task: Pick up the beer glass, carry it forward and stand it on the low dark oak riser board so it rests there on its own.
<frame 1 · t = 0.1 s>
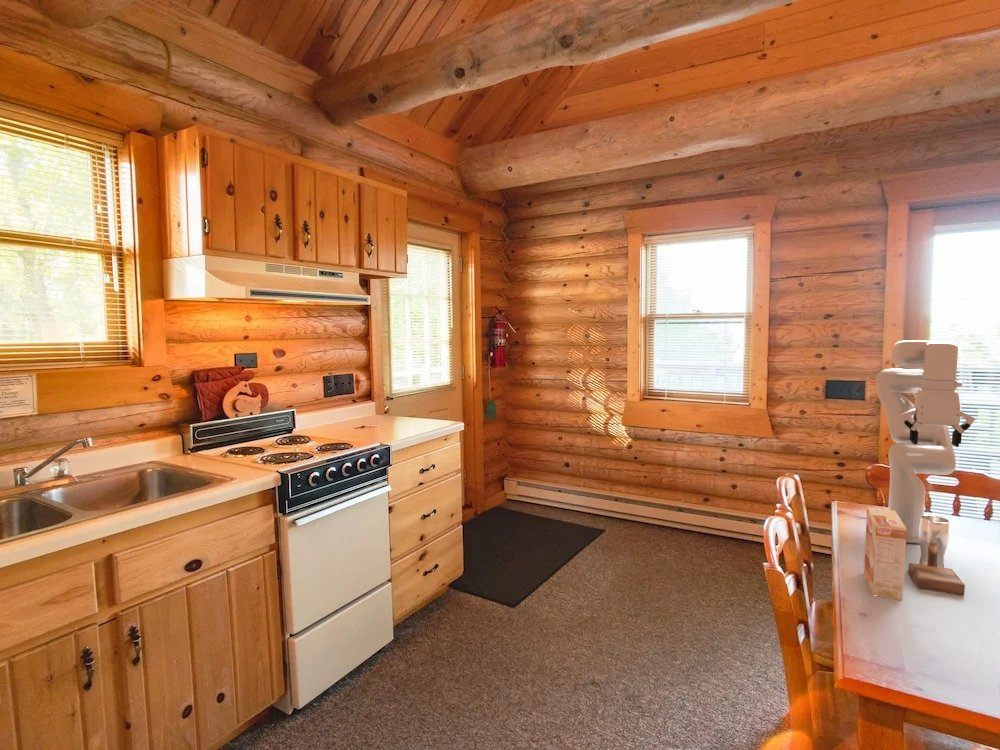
hand: (934, 444, 160), 37 cm above the table, tool pointing down, fingers open, 9 cm apart
oak riser board: (934, 583, 153), on the table
beer glass: (931, 569, 162), on the table
coffeecake box: (881, 586, 152), on the table
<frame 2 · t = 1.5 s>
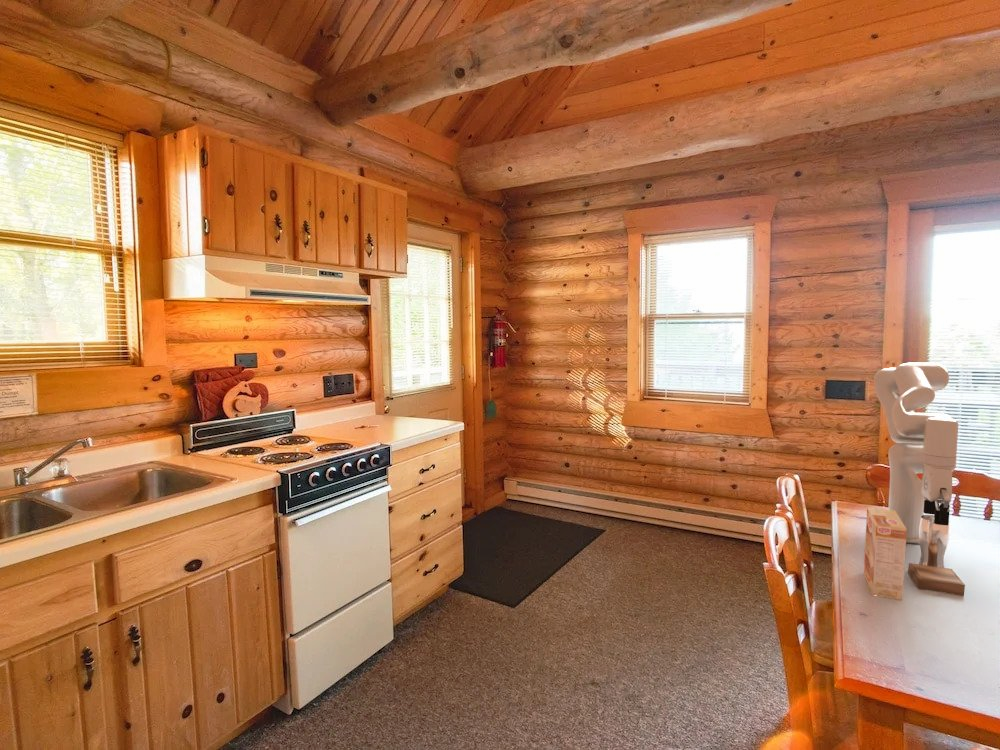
hand: (935, 519, 160), 15 cm above the table, tool pointing down, fingers open, 9 cm apart
nothing on the table moved.
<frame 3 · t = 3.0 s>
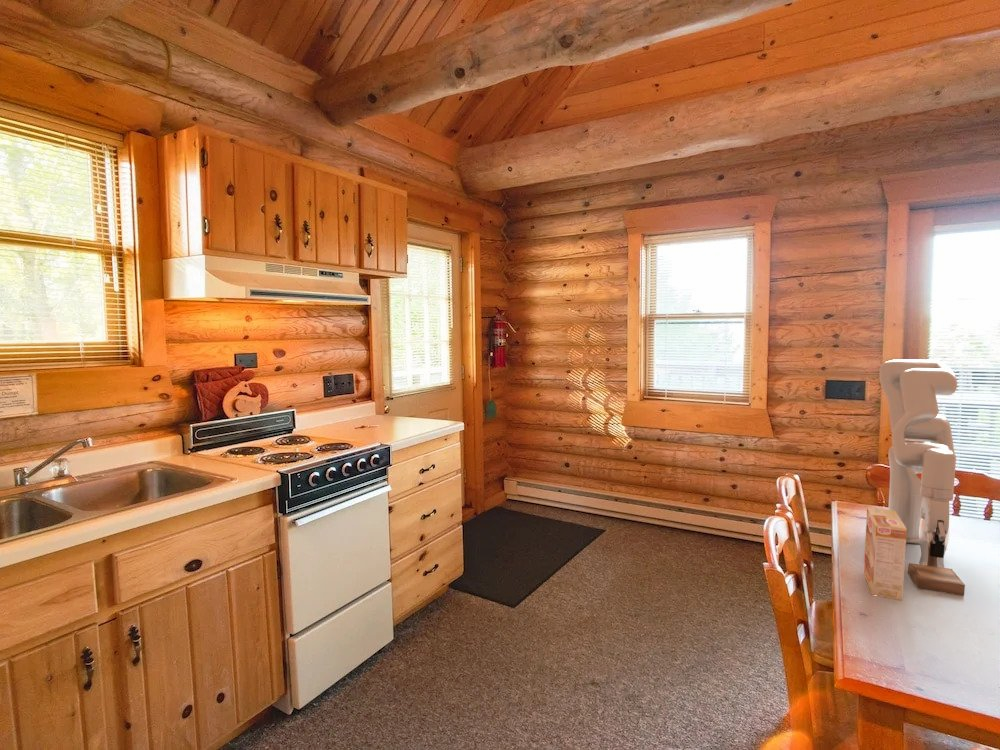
hand: (932, 551, 162), 5 cm above the table, tool pointing down, fingers closed on beer glass, 6 cm apart
beer glass: (931, 569, 162), on the table, touching gripper
everything else where it was.
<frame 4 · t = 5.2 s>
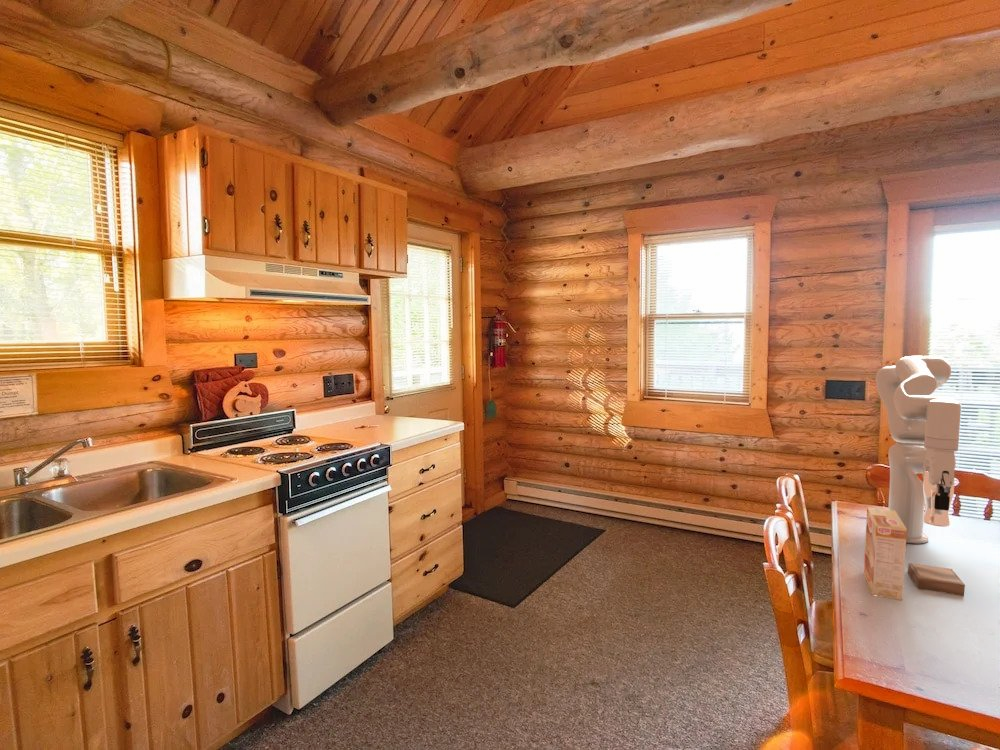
hand: (937, 505, 158), 20 cm above the table, tool pointing down, fingers closed on beer glass, 6 cm apart
beer glass: (935, 523, 158), point 14 cm above the table, touching gripper
everything else where it was.
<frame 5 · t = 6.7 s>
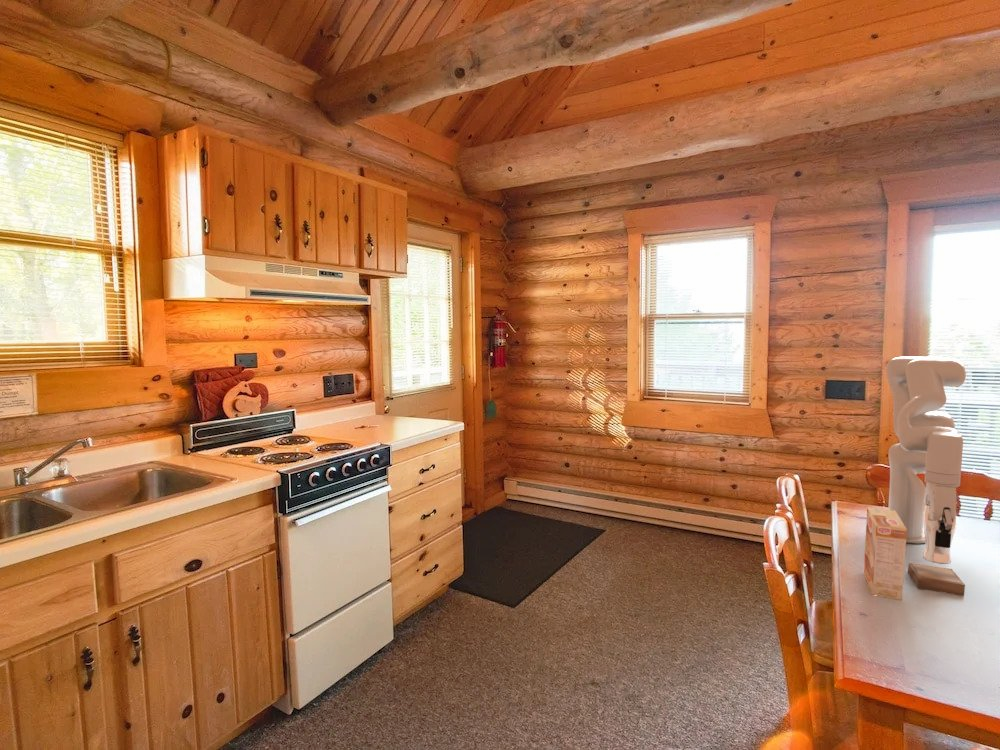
hand: (937, 541, 151), 12 cm above the table, tool pointing down, fingers closed on beer glass, 6 cm apart
beer glass: (936, 560, 152), point 7 cm above the table, touching gripper
everything else where it was.
when the fingers open (9 cm above the table, at t = 7.9 s): beer glass stays where it is, resting on oak riser board.
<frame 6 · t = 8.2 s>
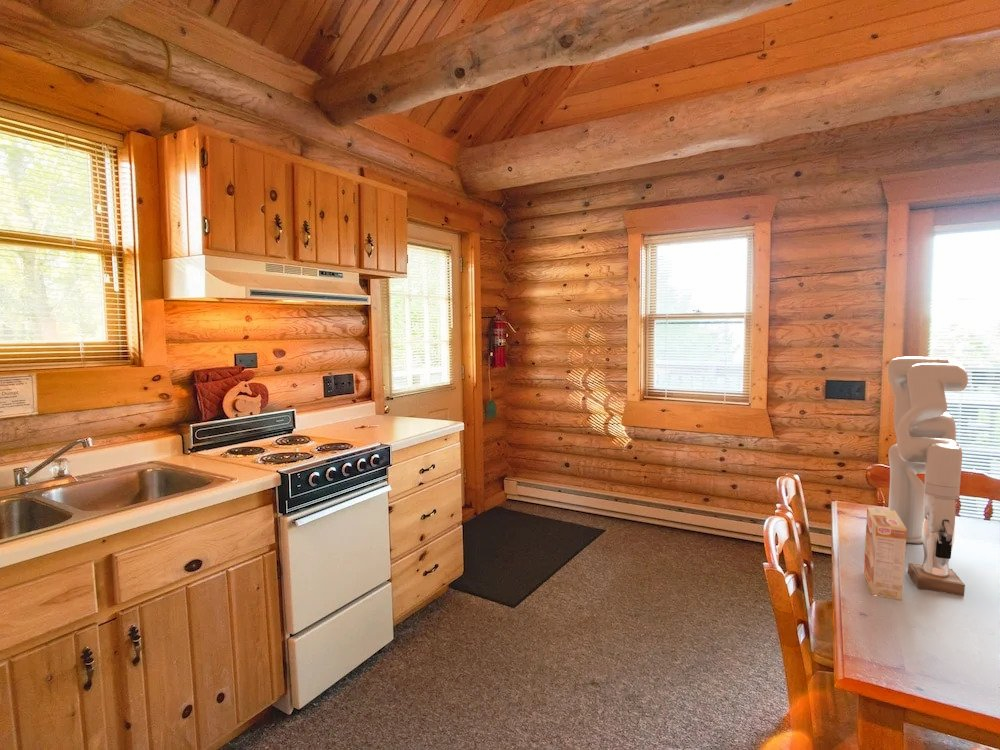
hand: (937, 550, 152), 10 cm above the table, tool pointing down, fingers open, 9 cm apart
beer glass: (935, 572, 153), point 3 cm above the table, touching oak riser board
everything else where it was.
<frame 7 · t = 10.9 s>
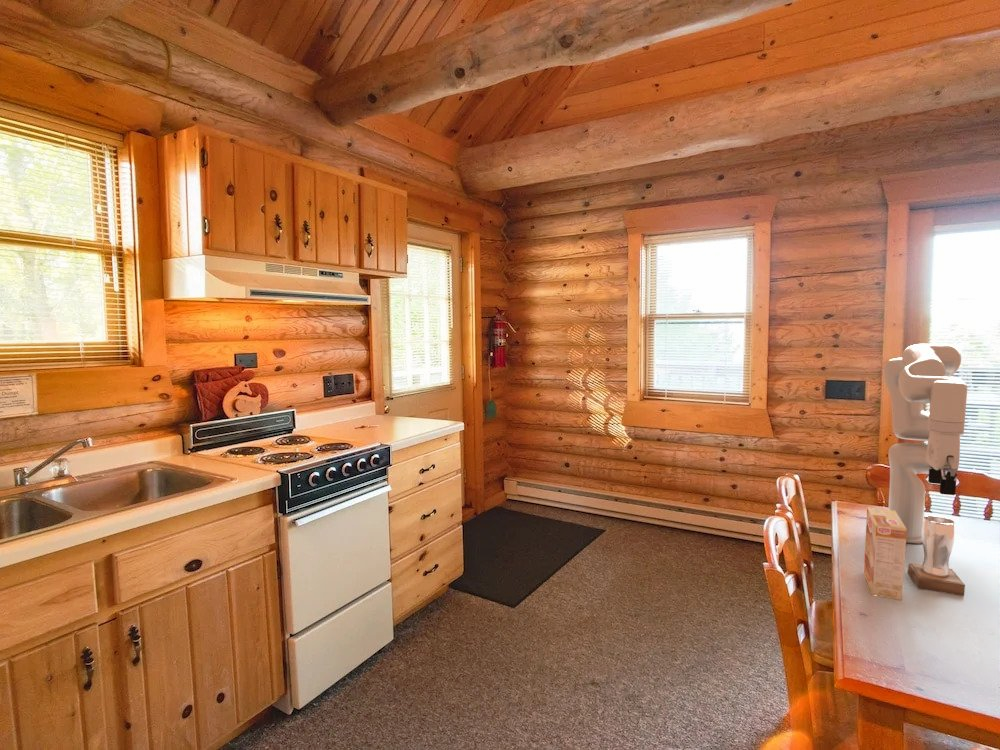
hand: (941, 488, 150), 27 cm above the table, tool pointing down, fingers open, 9 cm apart
nothing on the table moved.
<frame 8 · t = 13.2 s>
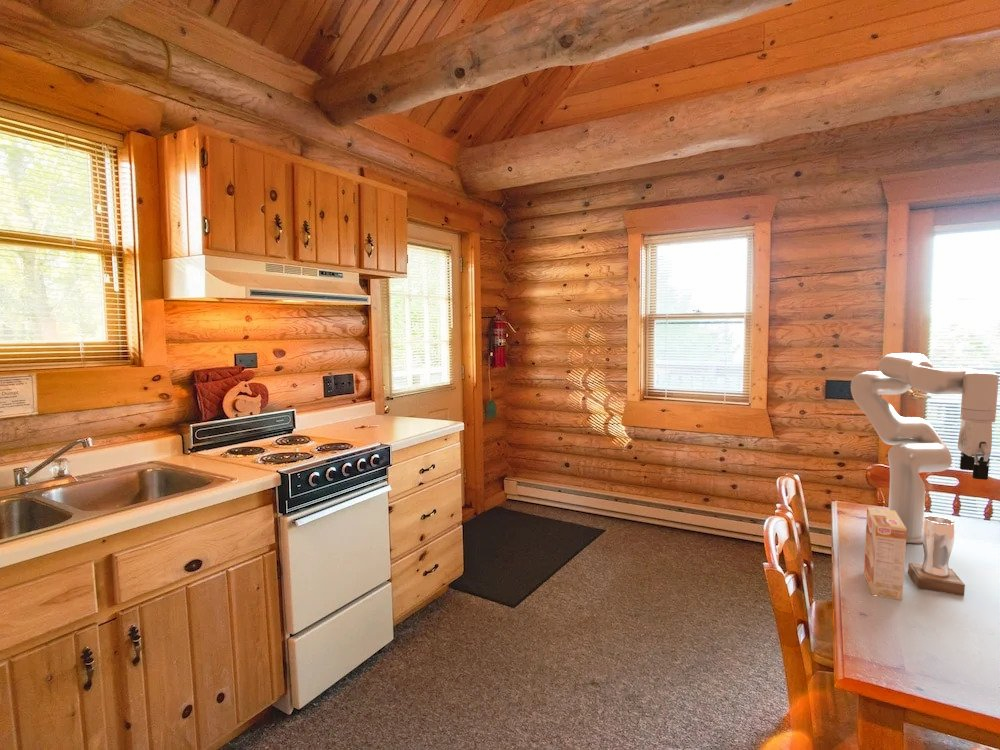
hand: (973, 474, 158), 28 cm above the table, tool pointing down, fingers open, 9 cm apart
nothing on the table moved.
at the end: beer glass inside the target area on the oak riser board (0.5 cm from its centre), point 3.0 cm above the oak riser board's base; beer glass tilted 0°; the gripper is holding nothing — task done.
